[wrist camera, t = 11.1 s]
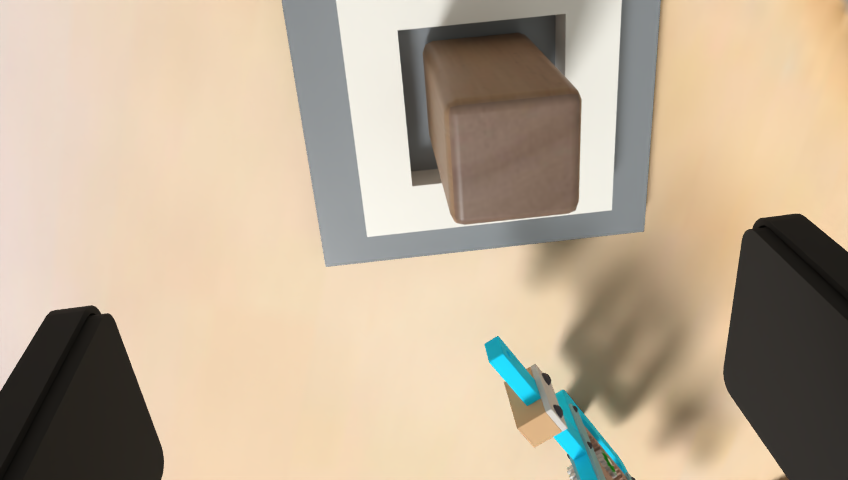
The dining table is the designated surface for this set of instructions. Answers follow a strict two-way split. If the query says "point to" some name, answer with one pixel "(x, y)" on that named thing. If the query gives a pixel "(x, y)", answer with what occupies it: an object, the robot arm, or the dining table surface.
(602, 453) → the gear mechanism
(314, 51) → the baseplate
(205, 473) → the dining table surface
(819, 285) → the robot arm
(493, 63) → the wooden block
